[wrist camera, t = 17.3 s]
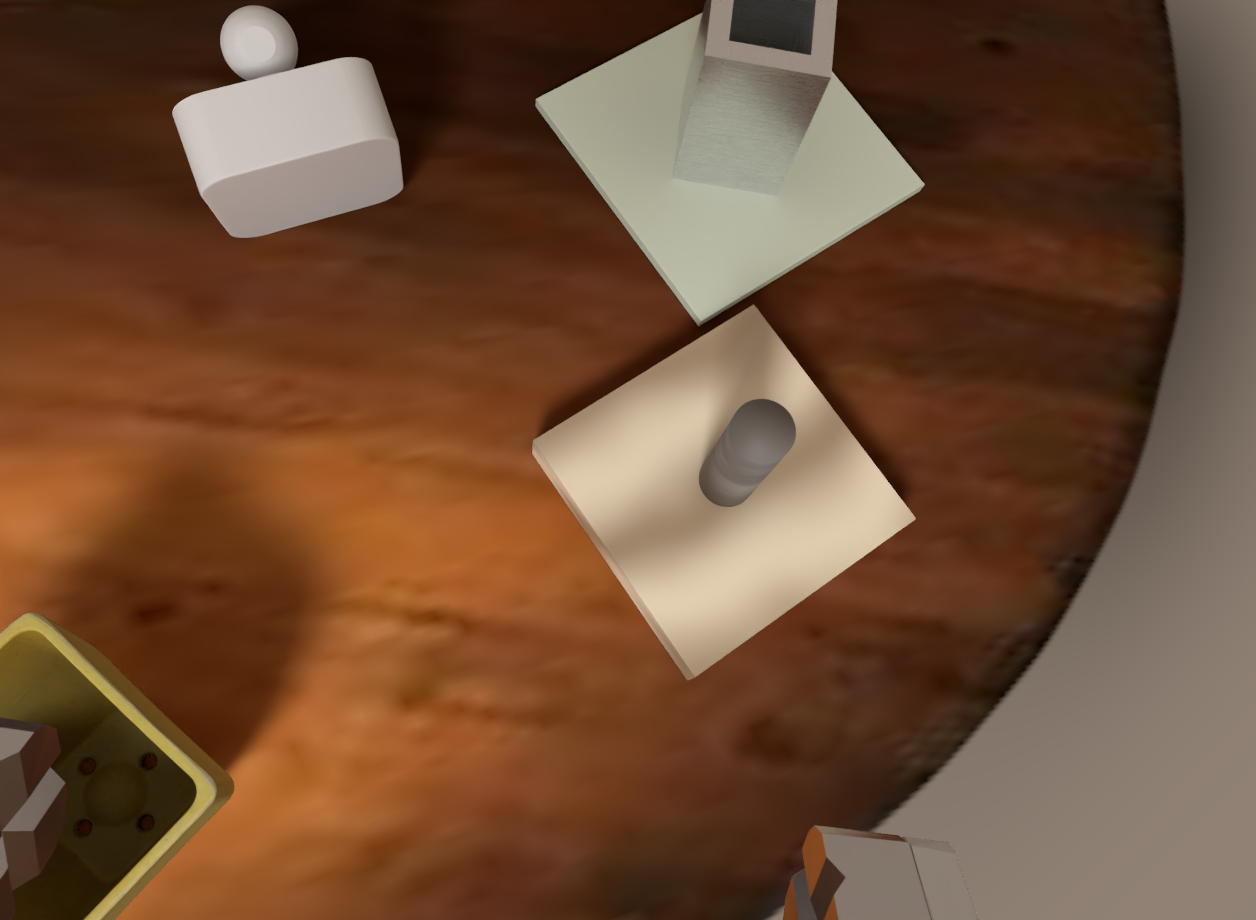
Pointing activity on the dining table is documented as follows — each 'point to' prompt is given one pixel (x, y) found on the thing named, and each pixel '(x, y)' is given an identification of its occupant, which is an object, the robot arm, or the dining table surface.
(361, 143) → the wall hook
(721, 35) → the steel sleeve
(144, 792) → the flower pot
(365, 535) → the dining table surface
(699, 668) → the peg stand
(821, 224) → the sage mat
